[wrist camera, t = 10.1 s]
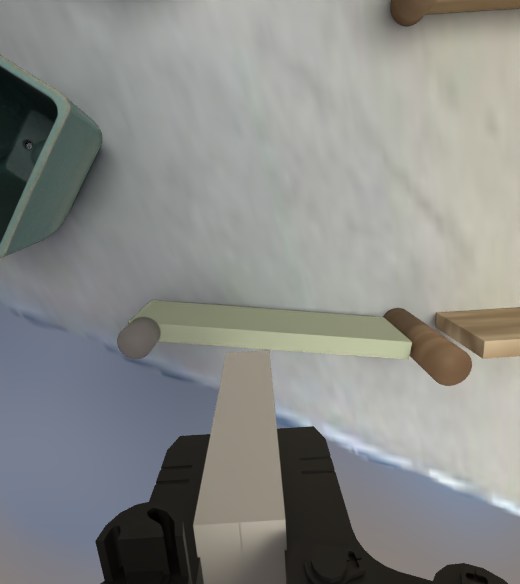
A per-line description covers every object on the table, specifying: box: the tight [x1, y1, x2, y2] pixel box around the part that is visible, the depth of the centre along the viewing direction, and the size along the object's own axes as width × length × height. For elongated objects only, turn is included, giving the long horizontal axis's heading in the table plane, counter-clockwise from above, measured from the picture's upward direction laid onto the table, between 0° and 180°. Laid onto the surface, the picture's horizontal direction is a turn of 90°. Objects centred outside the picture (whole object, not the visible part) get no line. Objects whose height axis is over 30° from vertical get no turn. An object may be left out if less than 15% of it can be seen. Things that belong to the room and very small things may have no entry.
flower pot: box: [0, 55, 102, 258], centre depth 20 cm, size 9×9×9 cm
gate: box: [117, 300, 412, 359], centre depth 23 cm, size 18×2×7 cm, turn 85°
